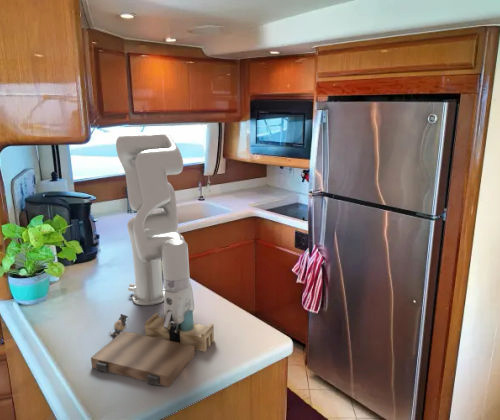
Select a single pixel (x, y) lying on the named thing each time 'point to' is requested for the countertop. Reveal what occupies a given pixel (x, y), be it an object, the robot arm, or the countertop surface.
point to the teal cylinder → (187, 322)
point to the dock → (144, 358)
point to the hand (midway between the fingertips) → (180, 336)
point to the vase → (119, 325)
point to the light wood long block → (181, 333)
